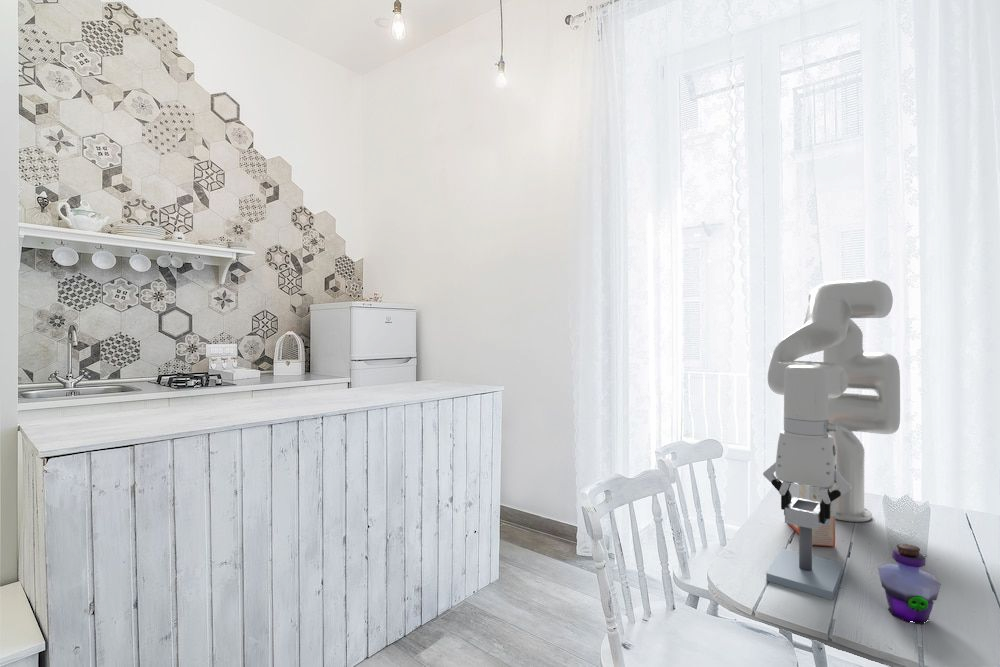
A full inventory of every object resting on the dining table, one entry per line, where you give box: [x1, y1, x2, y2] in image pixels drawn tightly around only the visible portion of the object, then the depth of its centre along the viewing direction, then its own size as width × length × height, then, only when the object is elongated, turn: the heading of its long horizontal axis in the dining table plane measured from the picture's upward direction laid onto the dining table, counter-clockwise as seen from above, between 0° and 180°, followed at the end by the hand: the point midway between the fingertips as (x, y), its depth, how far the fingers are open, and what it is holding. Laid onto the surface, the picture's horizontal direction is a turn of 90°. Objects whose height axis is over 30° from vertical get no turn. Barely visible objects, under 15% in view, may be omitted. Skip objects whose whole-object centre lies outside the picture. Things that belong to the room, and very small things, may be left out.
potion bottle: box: [877, 543, 943, 625], centre depth 87 cm, size 9×9×12 cm
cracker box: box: [788, 483, 836, 548], centre depth 120 cm, size 14×6×21 cm, turn 168°
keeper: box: [765, 526, 844, 601], centre depth 101 cm, size 14×11×10 cm
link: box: [784, 497, 822, 530], centre depth 101 cm, size 8×6×3 cm
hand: (805, 516), depth 101 cm, fingers closed on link, 5 cm apart
